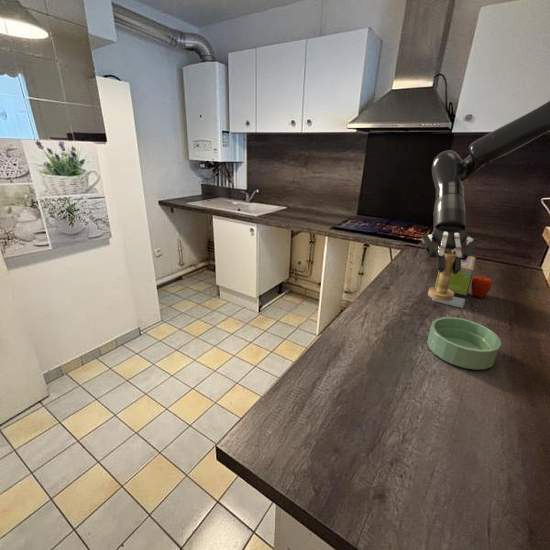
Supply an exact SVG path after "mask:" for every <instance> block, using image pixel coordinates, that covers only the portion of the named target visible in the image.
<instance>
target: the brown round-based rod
mask: <svg viewBox="0 0 550 550" xmlns="http://www.w3.org/2000/svg"><path fill="white" fill-rule="evenodd" d="M443 257H444V271H443V272H442V273H441V272H440V275H439V279H438V284H437V287H435V286H430V287H429V288H428V291H427V292H428V293H427V296H428V297H430V298H431V299H436V300H439V301H451V300H453V297H454V292H453V291H451V290H450V289H448V286H449V282H450V278H451V274H452V270H453V266H454V262H455V258H456V254H453V253H452V252H444V255H443Z"/></svg>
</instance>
